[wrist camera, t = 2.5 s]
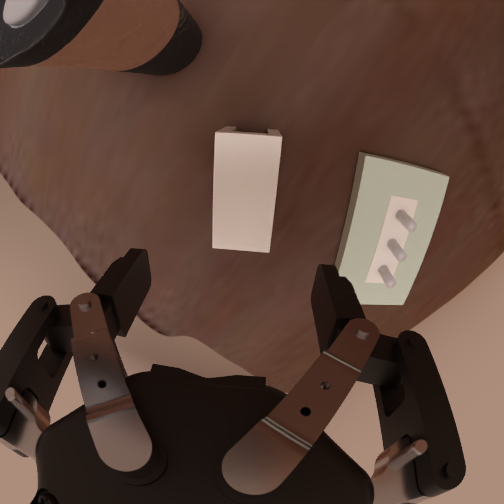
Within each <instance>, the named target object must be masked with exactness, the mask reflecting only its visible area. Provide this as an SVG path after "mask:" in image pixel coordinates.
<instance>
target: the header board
mask: <svg viewBox="0 0 504 504" xmlns="http://www.w3.org/2000/svg"><path fill="white" fill-rule="evenodd" d="M448 181H449V177H448V176H447V175H445V174H443V173H441V172H438V171H435V170H432V169H428V168H425V167H421V166H418V165H414V164H410V163H406V162H403V161H399V160H394V159H390V158H386V157H382V156H377V155H373V154H368V153H363V152H359V155H358V161H357V167H356V172H355V177H354V183H353V188H352V193H351V198H350V202H349V207H348V211H347V216H346V220H345V225H344V229H343V233H342V237H341V241H340V245H339V249H338V253H337V257H336V261H335V266H336V268H337V270H338V273H339V276H343V277H346V278H347V279H348V280H349V281H350V282H351V283H352V285H353V287H354V290H355V293H356V295H357V297H358V298H357V299H358V300H359V302H360V304H378V305H403V304H404V302H405V300H406V298H407V296H408V293H409V291H410V289H411V287H412V285H413V282H414V280H415V278H416V275H417V273H418V271H419V268H420V266H421V263H422V261H423V258H424V256H425V253H426V251H427V248H428V245H429V243H430V240H431V237H432V234H433V231H434V228H435V225H436V222H437V219H438V216H439V213H440V210H441V206H442V203H443V199H444V196H445V192H446V188H447V185H448Z"/></svg>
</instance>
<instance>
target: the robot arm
mask: <svg viewBox="0 0 504 504" xmlns="http://www.w3.org/2000/svg"><path fill="white" fill-rule="evenodd" d="M150 286H151V272H150V266H149V259H148V253H147V250H146V249H136V248H131V249H130V250H129V251H128V252H127V253H126V255H125V256H124V257H120V258H119V259H117V260H116V261H114V262H113V263H112V264H111V265H110V267H109V268H108V270H107V271H106V272H105V273H104V276H102V277H101V279H100V280H99V281H98V283H97V284H96V285H95V287H94V288H93V289H92V291H91V292H90V293H83V294H80V295H78V296H77V297H75V298H74V299H73V300H72V302H71V304H70V305H57V304H56V302H55V299H54V298H53V297H51V296H42V297H39V298H37V299H36V300H35V301H33V303H32V304H31V305H30V307H29V308H28V309H27V311H26V312H25V314H24V315H23V316H22V318H21V320H20V321H19V322H18V324H17V325H16V327H15V328H14V330H13V331H12V333H11V334H10V336H9V337H8V339H7V341H6V342H5V344H4V345H3V347H2V349H1V350H0V442H1V443H2V444H3V445H5V446H6V447H8V448H9V449H12V450H13V451H14V452H16V453H17V454H19V455H20V456H23V457H31V458H33V459H35V460H36V464H37V472H38V489H37V493H36V496H35V497H34V499H33V500H32V502H31V503H30V504H416V503H419V502H422V501H424V500H427V499H430V498H432V497H435V496H437V495H440V494H442V493H444V492H447V491H449V490H451V489H453V488H455V487H457V486H458V485H459V484H460V483H461V482H462V480H463V478H464V476H465V472H466V465H465V460H464V455H463V451H462V447H461V443H460V438H459V434H458V431H457V427H456V423H455V420H454V417H453V413H452V410H451V407H450V404H449V401H448V397H447V394H446V392H445V389H444V386H443V383H442V380H441V378H440V375H439V372H438V369H437V367H436V364H435V362H434V359H433V357H432V354H431V352H430V349H429V347H428V345H427V342H426V340H425V339H424V338H423V337H422V336H421V335H420V334H418V333H416V332H414V331H409V330H408V331H403V332H402V333H400V335H399V336H398V338H394V337H390V336H386V335H382V334H380V332H379V329H378V328H377V326H376V325H375V324H374V323H372V322H371V321H369V320H366V318H365V315H364V313H363V310H362V307H361V305H360V302H359V300H358V299H357V298H358V297H357V295H356V293H355V290H354V287H353V285H352V283H351V282H350V281H349V280H348V279H347V278H346V277H343V276H339V273H338V270H337V268H336V266H335V265H325V264H319V266H318V268H317V273H316V277H315V281H314V285H313V289H312V294H311V304H312V310H313V315H314V320H315V325H316V331H317V336H318V342H319V348H320V353H321V355H320V356H319V357H318V358H317V360H316V361H315V362H314V363H313V365H312V366H311V367H310V368H309V370H308V371H307V372H306V373H305V374H304V376H303V377H302V378H301V379H300V380H299V381H298V383H297V384H296V385H295V386H294V387H293V388H292V390H291V391H290V392H289V393H288V394H285V393H284V392H282V391H280V390H278V389H276V388H273V387H271V386H267V385H266V377H256V376H242V375H234V376H225V377H216V378H204V377H201V376H198V375H196V374H193V373H190V372H188V371H185V370H182V369H180V368H175V367H168V366H163V365H157V364H153V365H152V369H151V371H147V372H141V373H137V374H133V375H130V376H128V375H127V373H126V370H125V368H124V365H123V362H122V360H121V357H120V354H119V352H118V349H117V346H116V343H115V338H116V336H117V335H118V336H123V337H126V335H127V333H128V331H129V328H130V327H131V325H132V323H133V321H134V318H135V317H136V315H137V313H138V311H139V309H140V307H141V305H142V303H143V301H144V299H145V297H146V295H147V293H148V291H149V289H150ZM44 339H45V341H46V343H47V345H46V347H45V348H44V350H43V352H42V354H41V356H40V358H39V360H38V357H37V353H38V349H39V347H40V345H41V344H42V342H43V340H44ZM72 356H73V357H74V362H75V367H76V372H77V376H78V380H79V384H80V388H81V393H82V396H83V400H84V405H82V406H81V407H79V408H77V409H76V410H74V411H73V412H71V413H70V414H68V415H66V416H65V417H63V418H61V419H60V420H58V421H56V422H55V423H53V424H51V425H50V415H49V410H50V407H51V404H52V402H53V400H54V397H55V395H56V392H57V390H58V387H59V385H60V383H61V380H62V378H63V376H64V373H65V371H66V369H67V367H68V365H69V362H70V360H71V358H72ZM356 381H360V382H365V383H369V384H373V388H374V393H375V398H376V403H377V409H378V415H379V420H380V427H381V433H382V440H383V447H384V451H383V452H382V453H381V454H380V455H379V456H378V458H377V459H376V461H375V468H374V473H373V476H372V477H371V478H370V477H369V475H368V474H367V473H366V471H364V469H362V468H361V467H360V466H359V465H358V464H357V463H356V462H355V461H354V460H353V459H352V458H350V456H348V454H346V453H345V452H344V451H343V450H342V449H341V448H340V447H339V446H338V445H337V444H336V443H335V442H334V441H333V440H332V439H331V438H330V437H329V436H328V435H327V434H326V433H325V432H324V429H325V428H326V426H327V425H328V424H329V422H330V421H331V419H332V418H333V416H334V415H335V413H336V412H337V410H338V409H339V407H340V406H341V404H342V403H343V401H344V400H345V398H346V396H347V395H348V393H349V392H350V390H351V388H352V387H353V385H354V383H355V382H356Z"/></svg>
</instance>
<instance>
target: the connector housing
mask: <svg viewBox="0 0 504 504" xmlns="http://www.w3.org/2000/svg"><path fill="white" fill-rule="evenodd" d="M236 128H237V126H226V127H224V128H222V129H220V130H218V131H217V132H215V149H214V178H213V243H212V248H219V249H231V250H243V251H255V252H267V253H269V251H270V243H271V234H272V226H273V217H274V209H275V200H276V191H277V182H278V173H279V164H280V154H281V145H282V136H281V134H280V132H279V131H278V130H275V129H268V130H267V134H266V133H254V132H239V131H236Z"/></svg>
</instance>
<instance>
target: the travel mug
mask: <svg viewBox="0 0 504 504" xmlns="http://www.w3.org/2000/svg"><path fill="white" fill-rule="evenodd" d="M201 41H202V36H201V31H200V29H199V27H198V25H197V23H196V22H195V21H194V19H193V18H192V17H191V15H190V14H189V13H188V11H187V10H186V9H185V8H184V6H183V5H182V4H181V3H180V1H179V0H0V68H8V67H26V66H57V67H77V68H90V69H100V70H108V71H120V72H133V73H144V74H153V75H168V74H172V73H175V72H177V71H179V70H181V69H183V68H185V67H186V66H187V65H189V64H190V63H191V62H192V61H193V59H194V58H195V57H196V55H197V54H198V52H199V49H200V46H201Z"/></svg>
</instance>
